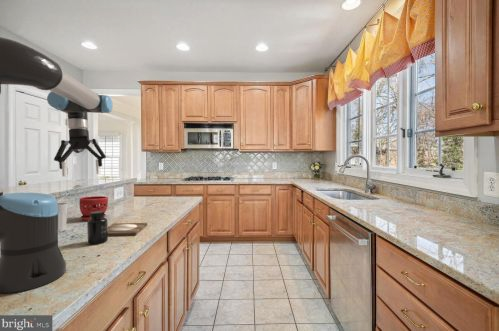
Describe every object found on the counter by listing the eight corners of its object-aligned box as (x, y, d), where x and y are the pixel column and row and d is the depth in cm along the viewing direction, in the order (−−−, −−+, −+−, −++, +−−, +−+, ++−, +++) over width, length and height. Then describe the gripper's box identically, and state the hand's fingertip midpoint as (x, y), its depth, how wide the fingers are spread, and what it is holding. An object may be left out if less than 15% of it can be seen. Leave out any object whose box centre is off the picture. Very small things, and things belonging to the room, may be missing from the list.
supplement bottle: (105, 237, 100) (105, 209, 99) (109, 242, 95) (109, 212, 95) (85, 241, 95) (85, 211, 95) (89, 246, 90) (89, 214, 90)
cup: (55, 232, 106) (55, 206, 106) (41, 231, 108) (41, 205, 107) (72, 227, 114) (72, 202, 114) (58, 226, 115) (58, 202, 115)
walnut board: (135, 235, 103) (135, 232, 103) (96, 236, 101) (96, 233, 101) (147, 225, 119) (147, 222, 119) (113, 226, 117) (113, 223, 117)
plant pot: (103, 221, 127) (103, 198, 126) (75, 222, 123) (75, 199, 123) (111, 215, 139) (110, 195, 139) (85, 216, 136) (85, 195, 136)
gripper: (111, 129, 117) (114, 172, 117) (51, 132, 111) (54, 177, 111) (106, 126, 110) (109, 172, 110) (42, 128, 104) (45, 177, 103)
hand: (82, 175), depth 110 cm, fingers open, 13 cm apart
